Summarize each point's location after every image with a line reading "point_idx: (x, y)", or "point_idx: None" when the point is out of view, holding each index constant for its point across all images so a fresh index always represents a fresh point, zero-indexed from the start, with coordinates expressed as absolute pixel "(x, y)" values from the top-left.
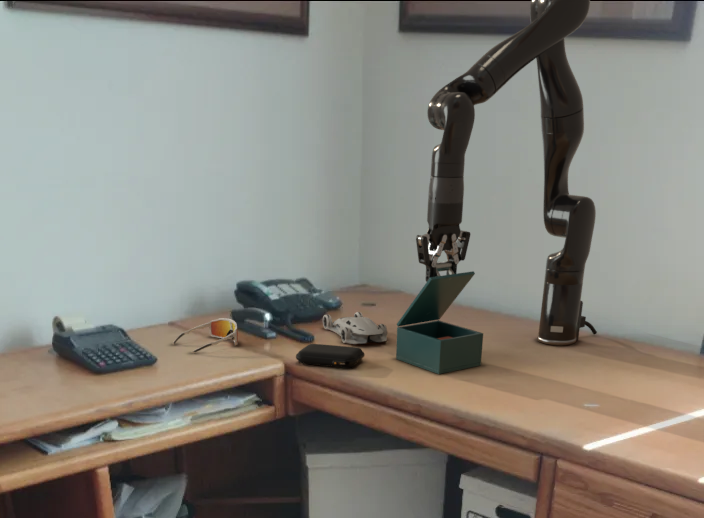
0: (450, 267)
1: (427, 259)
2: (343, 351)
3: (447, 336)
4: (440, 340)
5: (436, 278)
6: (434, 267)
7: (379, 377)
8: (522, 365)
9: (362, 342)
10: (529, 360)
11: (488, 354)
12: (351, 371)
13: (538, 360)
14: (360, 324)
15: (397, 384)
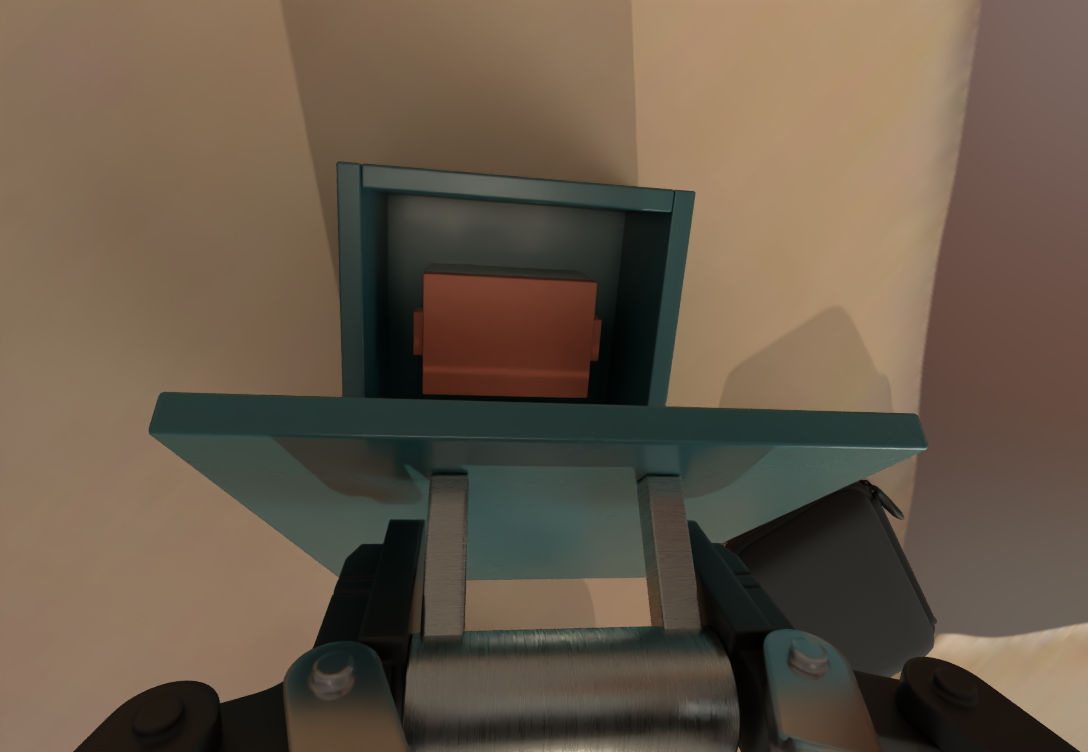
0: (439, 639)
1: (993, 721)
2: (841, 561)
3: (431, 391)
4: (687, 202)
5: (845, 418)
6: (759, 634)
7: (844, 324)
8: (168, 22)
9: None
10: (57, 69)
11: (190, 304)
12: None
13: (4, 31)
14: None
15: (872, 199)
